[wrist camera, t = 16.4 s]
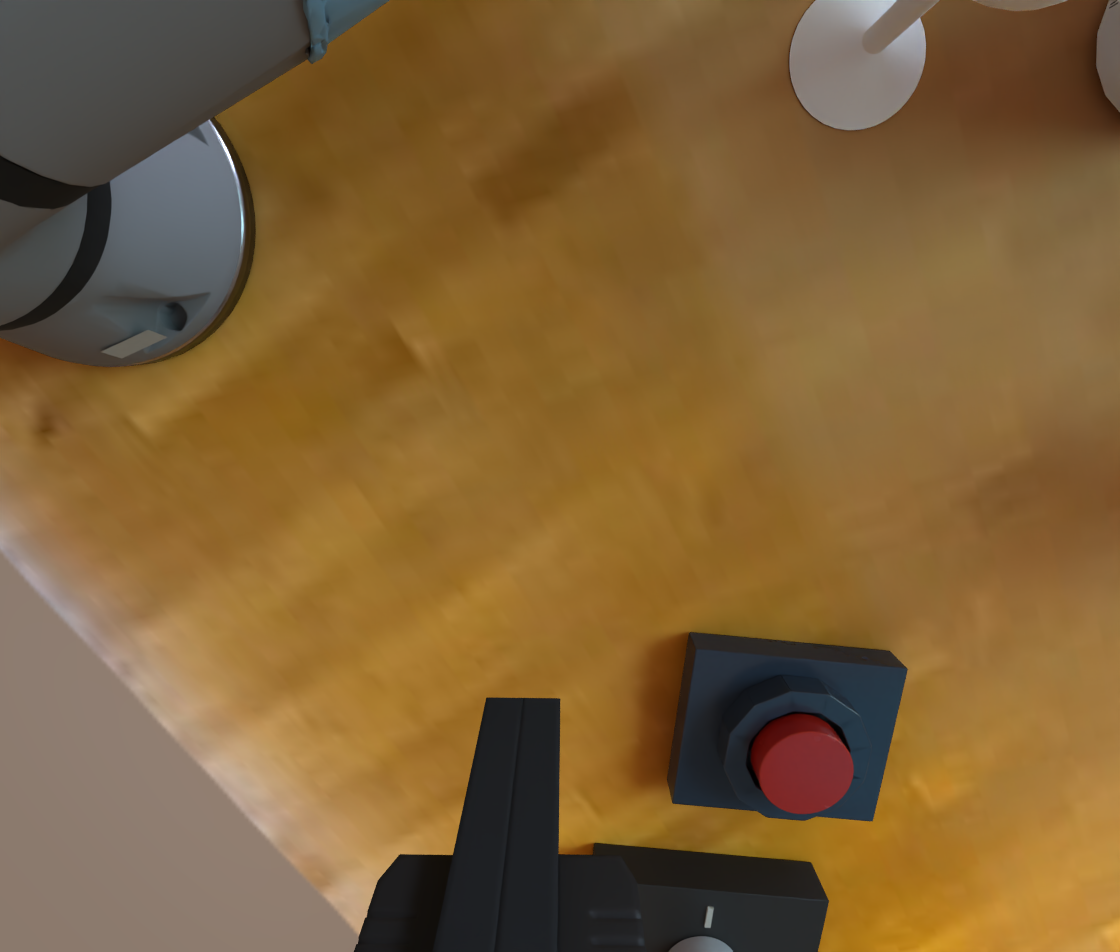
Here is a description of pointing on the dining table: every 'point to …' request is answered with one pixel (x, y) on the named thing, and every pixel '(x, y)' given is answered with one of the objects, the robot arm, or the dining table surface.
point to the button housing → (769, 693)
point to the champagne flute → (865, 57)
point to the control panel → (725, 899)
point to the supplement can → (1110, 52)
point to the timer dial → (701, 945)
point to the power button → (801, 764)
